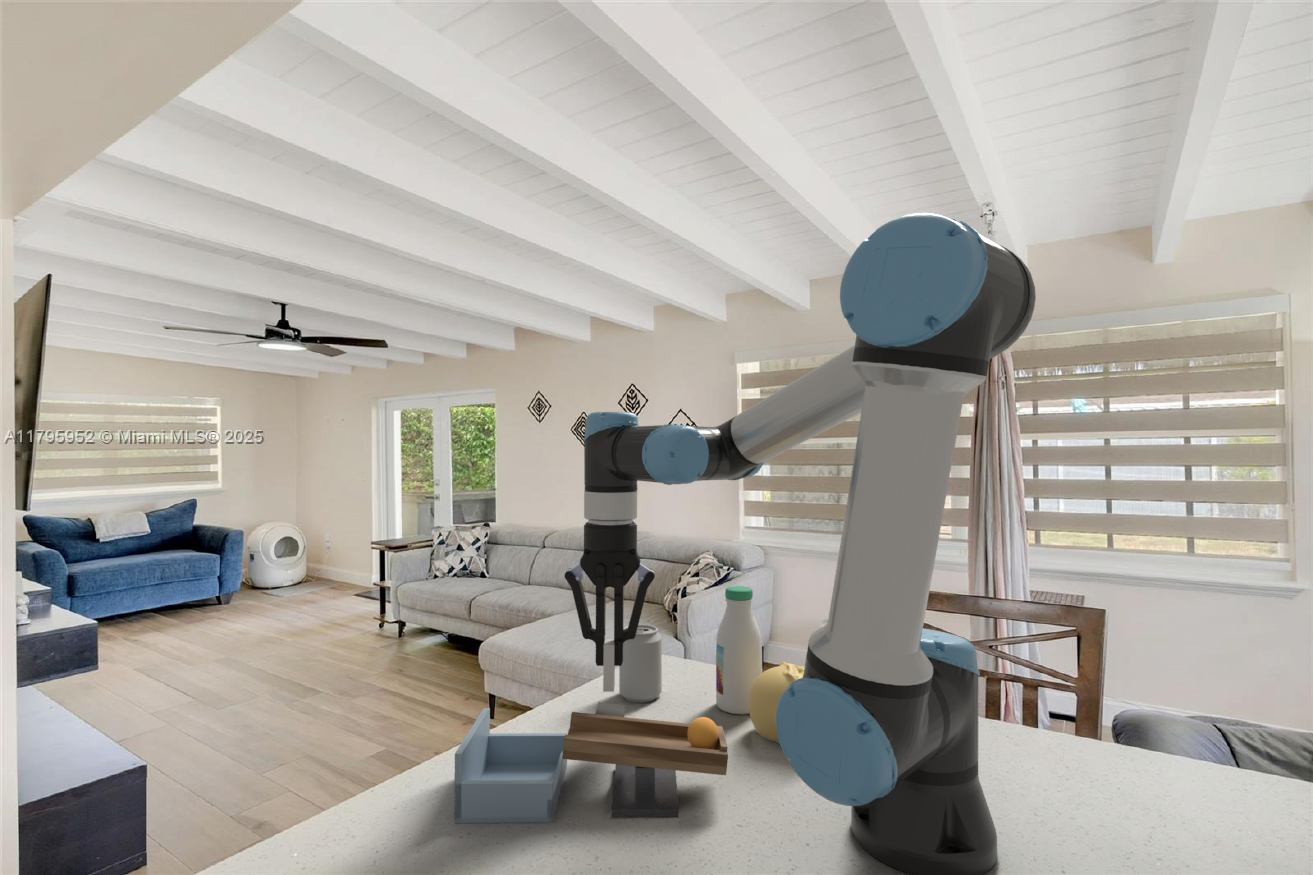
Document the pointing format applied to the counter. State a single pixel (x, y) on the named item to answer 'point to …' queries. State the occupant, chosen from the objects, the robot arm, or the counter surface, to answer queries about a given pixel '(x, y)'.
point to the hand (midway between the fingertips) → (609, 687)
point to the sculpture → (770, 697)
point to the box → (507, 775)
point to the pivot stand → (644, 793)
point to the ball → (703, 733)
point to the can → (641, 665)
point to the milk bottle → (737, 652)
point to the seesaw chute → (639, 742)
